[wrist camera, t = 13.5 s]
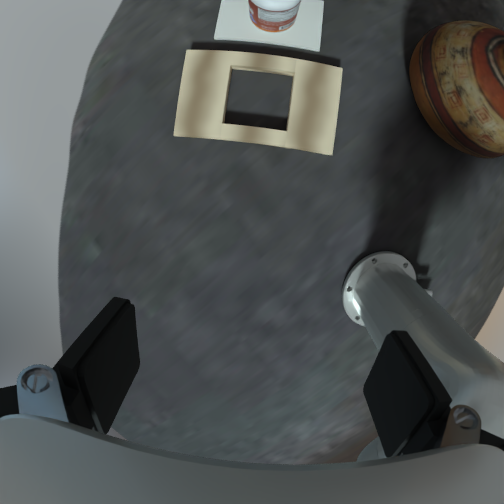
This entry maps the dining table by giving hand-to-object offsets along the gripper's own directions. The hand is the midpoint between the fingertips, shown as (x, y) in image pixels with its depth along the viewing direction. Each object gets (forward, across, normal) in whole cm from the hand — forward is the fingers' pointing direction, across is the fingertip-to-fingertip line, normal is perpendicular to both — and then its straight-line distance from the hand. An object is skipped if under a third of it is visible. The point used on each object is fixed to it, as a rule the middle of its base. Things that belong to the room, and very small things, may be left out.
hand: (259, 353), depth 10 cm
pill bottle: (+30, +2, -27) cm, 40 cm away
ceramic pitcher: (+31, -27, -23) cm, 47 cm away
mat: (+30, +2, -27) cm, 41 cm away
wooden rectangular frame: (+30, +2, -14) cm, 33 cm away
